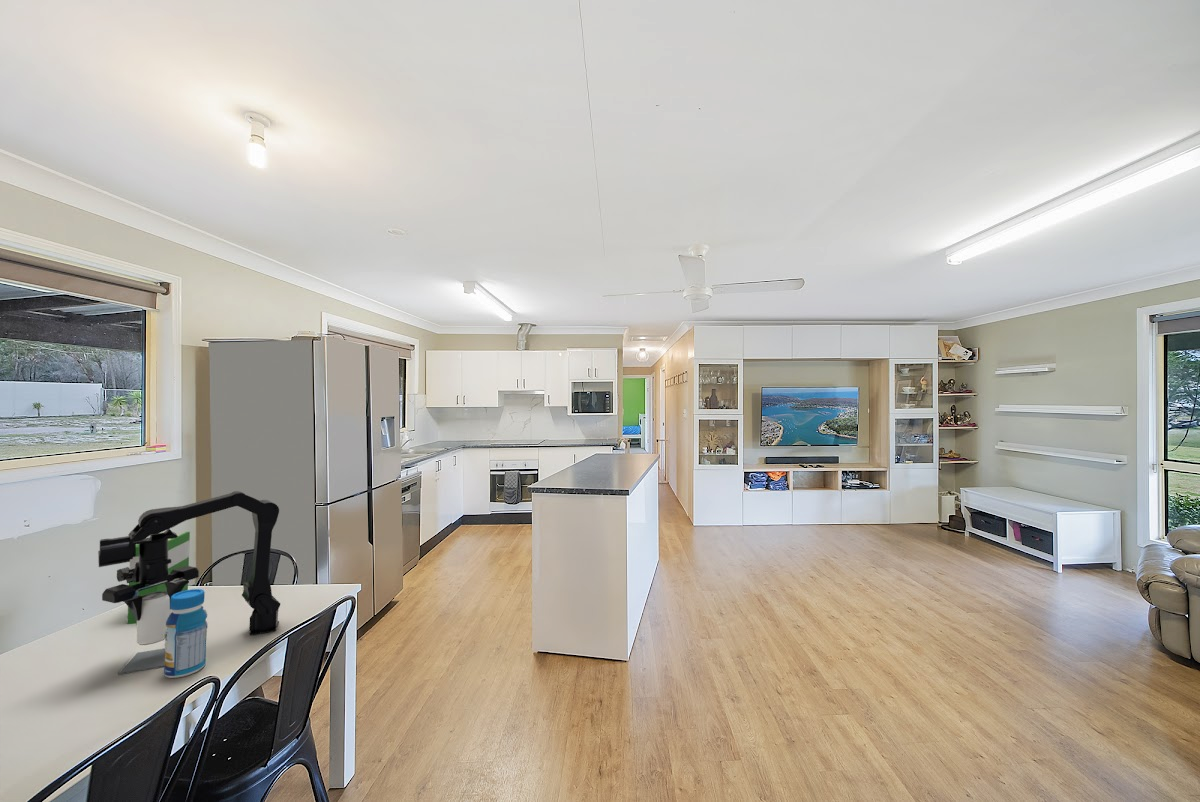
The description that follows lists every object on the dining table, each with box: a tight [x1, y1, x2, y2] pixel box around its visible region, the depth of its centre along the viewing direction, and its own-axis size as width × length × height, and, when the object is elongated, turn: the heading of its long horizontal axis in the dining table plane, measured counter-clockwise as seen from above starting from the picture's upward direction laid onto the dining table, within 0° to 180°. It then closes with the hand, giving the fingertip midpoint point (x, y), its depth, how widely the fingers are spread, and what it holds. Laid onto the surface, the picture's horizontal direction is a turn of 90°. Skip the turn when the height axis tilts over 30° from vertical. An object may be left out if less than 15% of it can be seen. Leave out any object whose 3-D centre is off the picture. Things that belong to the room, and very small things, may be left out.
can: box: [136, 591, 170, 646], centre depth 126 cm, size 6×6×12 cm
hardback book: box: [126, 531, 191, 625], centre depth 156 cm, size 18×7×24 cm, turn 17°
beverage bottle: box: [163, 588, 209, 679], centre depth 122 cm, size 8×8×20 cm
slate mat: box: [117, 647, 165, 675], centre depth 127 cm, size 11×11×1 cm
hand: (153, 614), depth 126 cm, fingers closed on can, 6 cm apart
